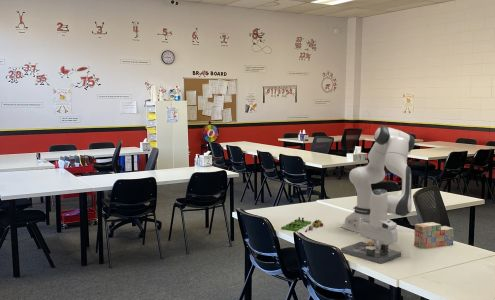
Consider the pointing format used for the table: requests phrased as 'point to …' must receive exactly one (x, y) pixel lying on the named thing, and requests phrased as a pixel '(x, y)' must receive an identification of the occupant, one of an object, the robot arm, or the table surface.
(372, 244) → the breaker
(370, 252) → the breaker near
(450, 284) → the table surface
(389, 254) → the panel
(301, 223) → the toy garden set
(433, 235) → the stack of blocks
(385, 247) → the breaker far
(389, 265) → the table surface
